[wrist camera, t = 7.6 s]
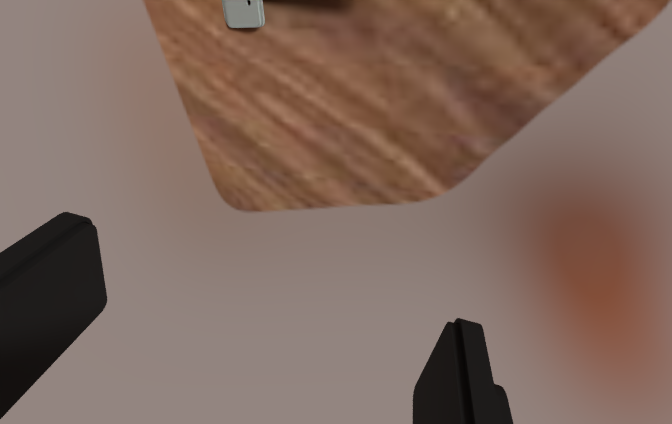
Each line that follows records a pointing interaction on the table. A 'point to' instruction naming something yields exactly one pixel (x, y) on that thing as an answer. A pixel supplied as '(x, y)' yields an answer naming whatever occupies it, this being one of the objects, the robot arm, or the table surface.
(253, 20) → the metal bracket
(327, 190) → the table surface
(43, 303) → the robot arm
